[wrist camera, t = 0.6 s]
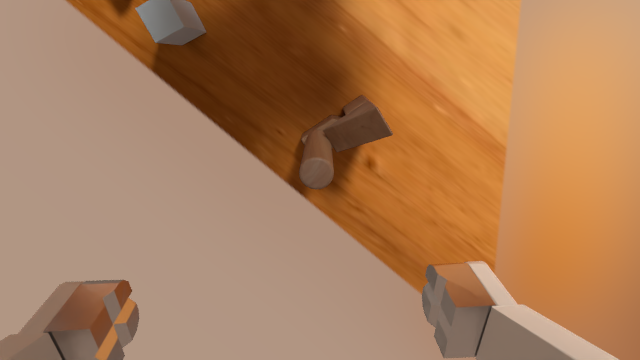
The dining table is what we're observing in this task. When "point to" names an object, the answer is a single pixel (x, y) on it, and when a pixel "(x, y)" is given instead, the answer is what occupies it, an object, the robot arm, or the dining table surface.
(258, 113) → the dining table surface
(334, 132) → the brown wooden angled piece
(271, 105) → the dining table surface
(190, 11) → the steel block
